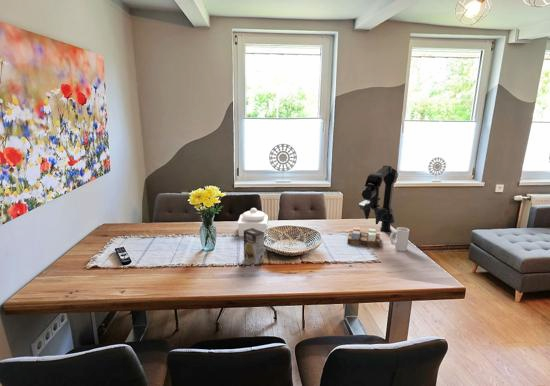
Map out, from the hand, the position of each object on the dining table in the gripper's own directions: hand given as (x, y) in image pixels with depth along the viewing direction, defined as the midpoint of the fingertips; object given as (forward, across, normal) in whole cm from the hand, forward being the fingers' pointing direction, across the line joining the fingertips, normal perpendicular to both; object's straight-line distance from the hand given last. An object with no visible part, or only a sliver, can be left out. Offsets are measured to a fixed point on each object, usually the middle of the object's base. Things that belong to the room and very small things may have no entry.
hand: (371, 221), depth 193 cm
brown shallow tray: (+13, -3, -3) cm, 14 cm away
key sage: (+10, -3, +3) cm, 11 cm away
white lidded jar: (+13, -42, -59) cm, 74 cm away
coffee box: (+13, -2, -72) cm, 73 cm away
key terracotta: (+10, -8, -4) cm, 14 cm away
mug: (+13, +14, +9) cm, 21 cm away
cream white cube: (+10, +3, -1) cm, 11 cm away
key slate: (+10, -3, -8) cm, 14 cm away
